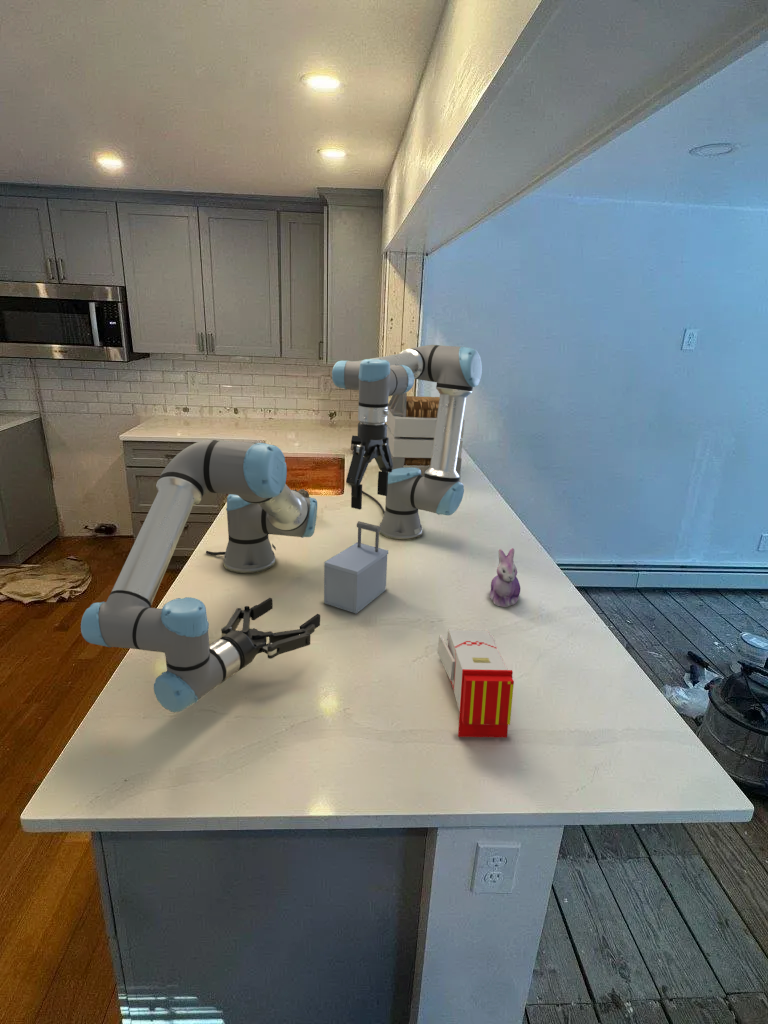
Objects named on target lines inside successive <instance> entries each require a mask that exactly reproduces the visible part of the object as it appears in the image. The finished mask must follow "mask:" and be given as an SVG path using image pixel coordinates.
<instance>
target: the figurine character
mask: <svg viewBox="0 0 768 1024" xmlns="http://www.w3.org/2000/svg"><path fill="white" fill-rule="evenodd" d="M361 443H362V440H361V438H359V437H358V435H351V441H350V451H352V453H353V452H354V445H361Z"/></svg>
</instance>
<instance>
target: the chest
mask: <svg viewBox="0 0 768 1024" xmlns="http://www.w3.org/2000/svg"><path fill="white" fill-rule="evenodd" d="M323 570H324V571H323V574H324V575H323V604H326V605H328V606H331V607H333V608H334V607H335V608H338V609H341V610H343V611H347V612H350V613H352V614H356V615H357V614H358V613H359V612H360V611H362V610H363V609H364V608H366V607H367V606H368V605H369V604H371V602H373V601H374V600H375V599H377V598H378V597H379V596H380V595H382V594H383V593H384V592H385V591H386V590H387V573H388V554H387V555H386V556H384V557H383V558H382V559H380V560H379V561H377V562H376V563H374V564H373V565H371V566H370V567H369V568H367V569H366V570H364V571H363V572H361V573H360V574H359V575H355V574H351V573H348V572H344V571H341V570H338V569H334V568H331V567H328V566H324V565H323Z"/></svg>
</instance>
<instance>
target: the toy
mask: <svg viewBox="0 0 768 1024" xmlns="http://www.w3.org/2000/svg"><path fill="white" fill-rule="evenodd" d="M446 640H447V643H446V641H445V639H444V636H443V635H442V634H439V637H438V646H437V656H438V657H439V659H440V661H441V663H442V666H443V668H444V670H445V672H446V674H447V677H448V679H449V681H450V684H451V687H452V690H453V693H454V697H455V701H456V705H457V708H458V711H459V714H458V715H459V716H458V730H457V731H458V732H457V737H458V738H508V731H509V726H510V725H511V717H512V707H513V697H514V696H513V695H514V684H515V680H514V679H513V673H514V671H513V670H512V669H508V667H507V665H506V662H505V661H504V659H503V658H502V655H501V653H500V651H499V649H498V647H497V643H496V639H495V637H494V635H493V634H491V632H490V631H489V629H467V628H466V629H465V628H463V629H461V628H460V629H459V628H448V630H447V639H446Z"/></svg>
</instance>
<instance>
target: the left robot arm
mask: <svg viewBox="0 0 768 1024" xmlns="http://www.w3.org/2000/svg"><path fill="white" fill-rule="evenodd" d="M287 468H288V466H287V462H286V457H285V454H284V452H283V451H282V450H281V448H279V447H278V446H277V445H274V444H269V443H266V442H243V441H232V440H231V441H229V440H217V439H204V440H200V441H197V442H194V443H192V444H190V445H189V446H187V447H186V448H184V449H183V450H181V451H180V452H178V453H176V455H175V456H174V457H173V458H172V459H170V462H168V464H167V465H166V466H165V467H164V469H163V470H162V472H161V474H160V476H159V478H158V479H157V482H156V485H155V487H156V491H157V493H156V496H155V497H154V500H153V502H152V505H151V507H150V508H149V511H148V512H147V515H146V517H145V520H144V521H143V524H142V525H141V528H140V530H139V532H138V534H137V536H136V538H135V540H134V542H133V545H132V547H131V549H130V551H129V553H128V556H127V557H126V560H125V562H124V564H123V565H122V568H121V571H120V572H119V574H118V577H117V579H116V580H115V583H114V585H113V587H112V589H111V592H110V593H109V596H108V598H107V599H106V601H101V602H93V603H92V604H90V606H89V607H88V608H86V609H85V611H84V613H83V615H82V617H81V622H80V633H81V636H82V638H83V639H84V640H85V641H86V642H87V643H89V644H91V645H96V646H97V645H98V646H102V647H107V648H121V649H129V650H130V649H131V650H139V651H145V652H146V651H148V652H156V653H163V654H164V656H165V664H166V670H165V671H163V672H161V674H160V675H159V676H157V677H156V678H155V681H154V683H153V693H154V695H155V698H156V700H157V701H158V703H159V704H160V705H161V706H162V707H163V708H164V709H165V710H168V711H169V712H172V713H180V712H182V711H184V710H185V709H187V708H189V707H190V706H192V705H194V704H196V703H197V702H198V701H199V700H201V699H202V698H204V696H206V695H207V694H209V693H210V692H211V691H213V690H214V689H216V688H217V687H218V686H220V685H221V684H223V683H224V682H225V681H226V680H228V679H229V678H231V677H232V676H234V675H235V674H236V673H238V672H239V671H241V670H242V669H244V668H245V667H247V666H248V665H249V664H250V663H252V662H253V660H254V659H255V657H256V656H257V655H258V654H262V653H264V654H266V655H267V659H268V660H271V659H274V658H275V657H277V656H279V655H282V654H285V653H288V652H291V651H295V650H298V649H302V648H304V647H308V646H310V645H311V636H312V634H313V633H314V632H315V631H316V629H317V628H319V627H320V626H321V614H320V613H316V614H315V615H313V616H312V617H311V618H309V619H308V620H306V621H305V622H304V623H302V624H301V625H299V628H298V629H291V630H284V631H277V632H273V631H271V630H270V631H262V630H258V629H257V628H255V627H254V628H250V626H251V621H255V620H257V619H258V618H260V617H262V616H263V615H265V614H267V613H268V612H270V611H271V610H273V598H272V597H268V598H266V599H265V600H263V601H262V602H260V603H258V604H254V605H253V606H252V607H250V606H249V605H245V606H244V607H243V608H242V607H236V609H235V610H234V612H233V613H232V615H231V617H230V618H229V620H228V622H227V623H226V624H225V625H224V626H223V627H221V630H220V631H221V632H220V633H221V637H220V638H218V639H216V640H214V641H213V642H210V635H209V633H210V632H209V630H210V629H209V627H210V626H209V625H210V624H209V621H208V615H207V607H206V605H205V603H204V602H203V601H201V600H200V599H198V598H195V597H189V596H188V597H187V596H186V597H183V598H180V597H176V598H174V599H171V600H169V601H168V602H166V603H165V604H164V605H163V606H162V608H157V607H152V605H153V602H154V600H155V597H156V595H157V592H158V590H159V588H160V585H161V583H162V581H163V579H164V576H165V575H166V571H167V569H168V566H169V564H170V562H171V559H172V557H173V554H174V552H175V550H176V548H177V545H178V543H179V541H180V539H181V536H182V533H183V531H184V529H185V527H186V525H187V522H188V519H189V518H190V517H189V516H190V514H191V512H192V510H193V508H194V506H197V505H199V504H200V503H201V501H202V499H203V496H204V495H205V494H223V495H227V498H226V508H225V510H226V519H227V533H228V541H227V544H226V548H225V551H210V550H206V551H205V554H206V555H210V556H223V559H222V561H223V567H224V568H225V569H226V570H227V571H229V572H232V573H236V574H243V575H245V574H248V575H249V574H258V573H262V572H266V571H268V570H270V569H271V568H272V567H274V565H275V564H276V554H275V553H274V550H275V551H277V549H276V546H275V545H274V543H271V542H270V538H269V535H275V536H283V537H284V536H285V537H296V538H301V539H302V538H303V539H304V538H311V537H313V535H314V533H315V530H316V524H317V517H318V501H317V499H316V498H314V497H310V496H309V497H308V498H306V497H303V496H302V495H301V494H300V493H298V492H296V491H293V490H294V489H290V487H289V486H288V485H287V484H286V482H287V474H288V469H287ZM242 619H243V620H242ZM241 621H243V623H242V628H241V629H240V630H237V628H238V627H239V625H240V623H241ZM267 638H268V639H267ZM267 641H268V643H267Z"/></svg>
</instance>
